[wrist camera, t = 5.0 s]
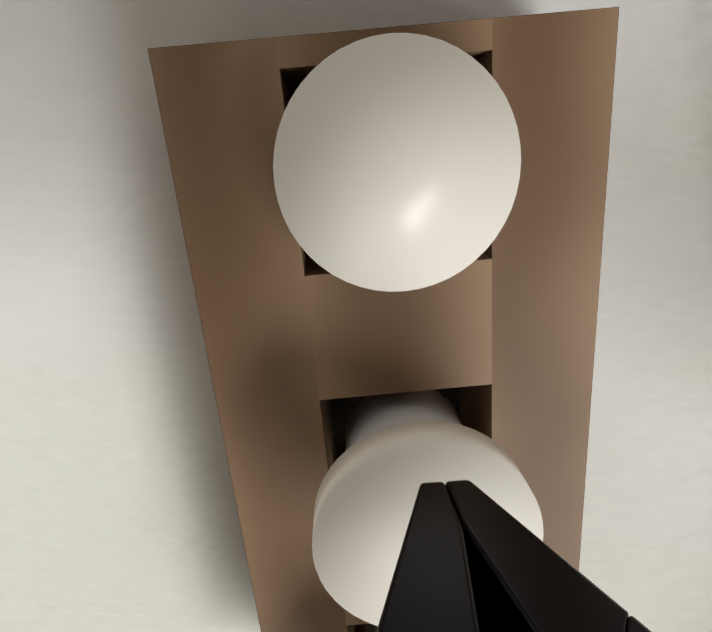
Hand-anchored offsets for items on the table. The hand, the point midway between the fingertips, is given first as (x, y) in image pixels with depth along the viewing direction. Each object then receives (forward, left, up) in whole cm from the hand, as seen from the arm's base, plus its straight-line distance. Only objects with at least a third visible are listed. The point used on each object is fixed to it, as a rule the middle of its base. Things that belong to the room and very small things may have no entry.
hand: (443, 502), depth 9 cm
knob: (0, -5, -8) cm, 10 cm away
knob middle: (0, +3, -6) cm, 7 cm away
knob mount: (0, +3, -9) cm, 9 cm away
